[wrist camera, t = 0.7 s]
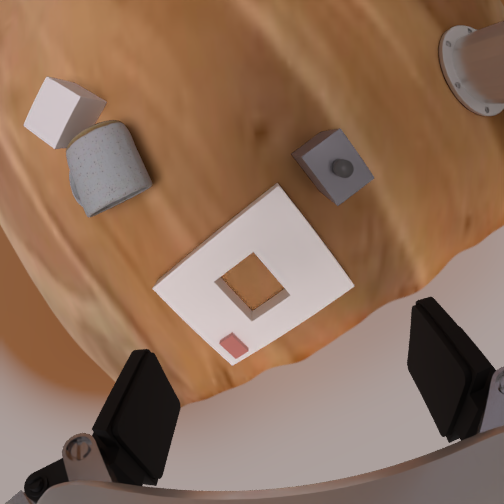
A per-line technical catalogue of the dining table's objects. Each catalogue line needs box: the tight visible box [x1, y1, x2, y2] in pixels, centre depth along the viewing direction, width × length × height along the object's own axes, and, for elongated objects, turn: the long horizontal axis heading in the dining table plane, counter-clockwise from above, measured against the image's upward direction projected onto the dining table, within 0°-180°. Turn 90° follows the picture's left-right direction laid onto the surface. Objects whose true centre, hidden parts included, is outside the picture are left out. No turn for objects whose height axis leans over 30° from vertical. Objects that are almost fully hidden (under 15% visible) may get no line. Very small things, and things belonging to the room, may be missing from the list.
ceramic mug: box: [66, 120, 152, 217], centre depth 28 cm, size 11×8×8 cm
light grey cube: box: [23, 77, 107, 149], centre depth 26 cm, size 6×6×6 cm
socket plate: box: [152, 183, 354, 366], centre depth 34 cm, size 18×14×3 cm
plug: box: [291, 128, 374, 206], centre depth 26 cm, size 4×5×10 cm
